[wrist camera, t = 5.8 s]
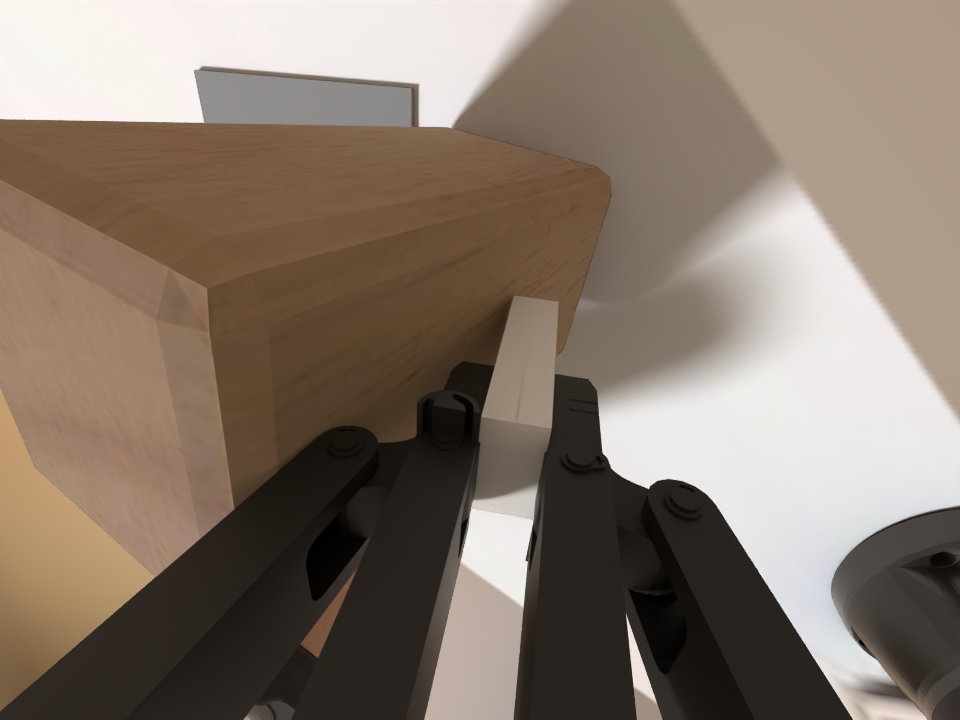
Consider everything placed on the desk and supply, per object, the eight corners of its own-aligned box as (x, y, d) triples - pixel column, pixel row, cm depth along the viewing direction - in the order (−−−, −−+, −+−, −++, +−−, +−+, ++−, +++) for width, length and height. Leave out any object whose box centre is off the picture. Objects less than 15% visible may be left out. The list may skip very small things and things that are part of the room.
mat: (412, 88, 24) (411, 88, 24) (413, 344, 32) (411, 346, 31) (197, 70, 25) (193, 69, 25) (247, 320, 33) (244, 322, 33)
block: (442, 123, 25) (-138, 106, 9) (624, 171, 21) (191, 277, 6) (421, 296, 30) (28, 475, 14) (565, 358, 26) (253, 685, 11)
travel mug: (332, 441, 37) (130, 737, 20) (347, 364, 33) (112, 652, 16) (423, 474, 38) (298, 796, 20) (448, 401, 34) (321, 725, 16)
